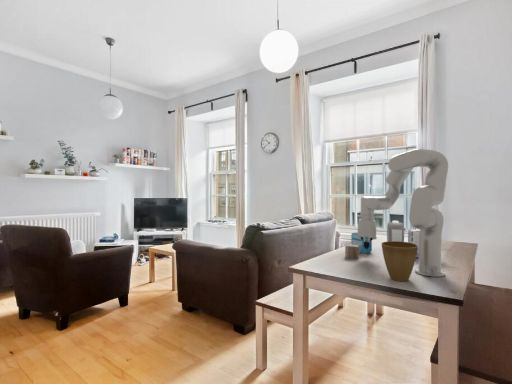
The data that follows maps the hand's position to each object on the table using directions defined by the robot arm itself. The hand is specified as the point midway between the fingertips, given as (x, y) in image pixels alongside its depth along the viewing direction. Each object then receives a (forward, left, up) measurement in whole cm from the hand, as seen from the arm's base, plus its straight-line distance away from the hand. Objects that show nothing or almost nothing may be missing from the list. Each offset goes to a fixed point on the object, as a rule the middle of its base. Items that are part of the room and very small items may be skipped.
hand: (366, 248), depth 175 cm
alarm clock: (+26, -16, -6) cm, 31 cm away
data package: (+18, +4, -6) cm, 19 cm away
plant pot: (-36, -16, -6) cm, 40 cm away
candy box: (+15, -30, -6) cm, 34 cm away
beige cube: (0, +4, -2) cm, 5 cm away
